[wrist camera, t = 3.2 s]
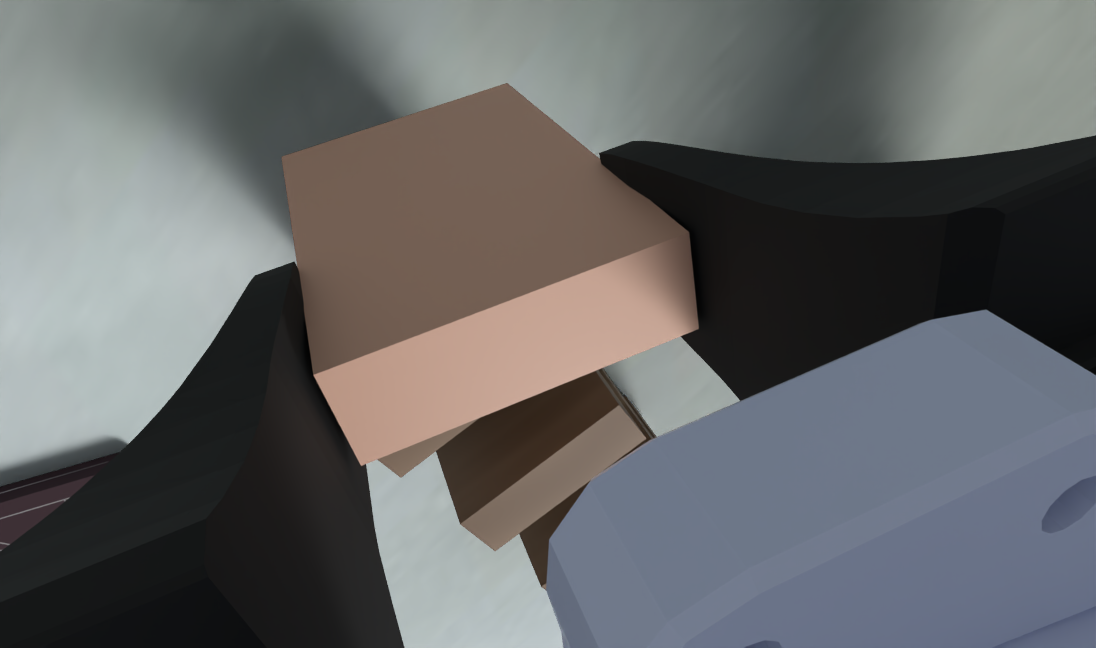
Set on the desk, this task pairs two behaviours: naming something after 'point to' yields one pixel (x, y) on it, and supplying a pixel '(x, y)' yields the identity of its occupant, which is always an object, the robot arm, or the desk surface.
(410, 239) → the domino
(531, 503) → the domino
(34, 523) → the chocolate bar
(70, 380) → the desk surface
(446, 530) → the desk surface
